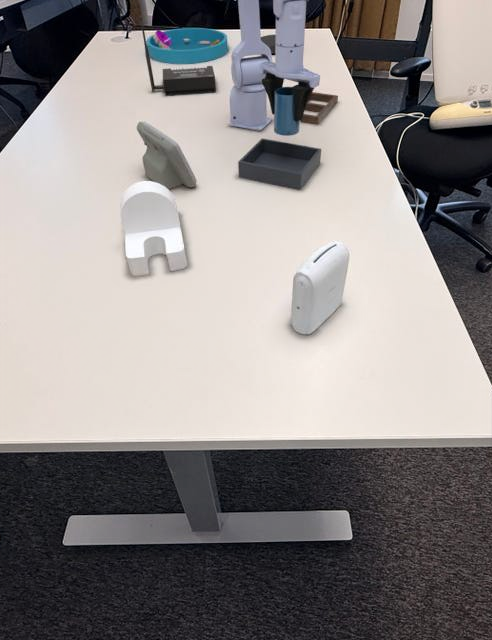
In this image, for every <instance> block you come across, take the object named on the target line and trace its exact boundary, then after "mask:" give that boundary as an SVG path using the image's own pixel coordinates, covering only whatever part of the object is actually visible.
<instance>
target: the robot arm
mask: <svg viewBox="0 0 492 640" xmlns="http://www.w3.org/2000/svg"><path fill="white" fill-rule="evenodd" d="M309 1H310V0H272V3H273V4H272V5H273V6H272V9H273V14H274V15H275V35H276V44H275V53H274V57H275V59H274V62H273V58H272V57H273V56H272V53H271V50H270V48H269V47H268V46H267V45H265V44H264V43H263V42H262V41H261V37H262V35H261V18H260V17H261V16H260V1H259V0H237V5H238V6H237V7H238V15H239V16H238V18H239V29H240V41H239V43H238V44H237V45H236V47H234V49H232V52H231V56H230V57H231V65H230V71H231V72H230V73H231V74H230V75H231V79H232V83H233V85H232V87H231V89H230V92H229V93H230V94H229V113H230V114H229V115H230V116H229V117H230V123H229V126H230V127H236V128H241V129H247V130H252V131H259V132H260V131H262V130H264V129H265V127H267V126H268V125H269V124H270V123H271V122H272V121H273V118H271V117H268V116H267V113H268V112H267V111H268V110H267V109H268V107H267V106H268V105H267V103H268V102H267V100H268V101H269V105H270V110H271V114H272V115H273V116H274V91H275V90H276V89H278V88H281V87H284V82H285V80H287V81H291V82H294V83H297V84H296V85H293V86H291V87H292V93H293V98H294V121H296V122H298V121H300V120H302V118H303V114H305V111H306V110H305V107H306V104H307V102H309V101H308V99H309V97H310V95H311V93H312V92H314V90H315V88H316V87H318V86H320V80H321V74H319V73H316V72H313V71H311V70H309V69H308V68H306V67H304V53H305V52H304V50H305V35H306V34H305V33H306V18H307V17H306V15H307V3H308V2H309Z"/></svg>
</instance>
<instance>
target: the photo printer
mask: <svg viewBox="0 0 492 640" xmlns="http://www.w3.org/2000/svg"><path fill="white" fill-rule="evenodd" d="M350 255H351V254H350V250H349V248H348V246H347V245H346V244H345V243H343V242H340V241H339V240H334V241H329V242H328V243H326V244H323V245H322V246H320V247H319V248H317V249H316V250H314V251H313V252H312V253H311V254H310V255H309V256H308V257H307V258H305V260H304V261H303V262H302V263H301V264H300V265H299V267H298V268H297V270H296V271H295V273H294V275H293V278H292V279H293V280H292V293H291V310H290V311H291V313H290V324H291V326H292V328H293V331H295V332H297V333H298V334H301V335H304V336H305V335H310V334H312V333H314V332H315V331H316V330H317V329H318V328H319V327H320V326H322V325H323V324H324V322H326V321H327V320H328V319H329V318H330V317H331V316H332V315H333V314H334V313H335V311H337V309H338V308H339V307H340V306H341V304H342V301H343V296H344V292H345V285H346V280H347V274H348V269H349V262H350Z"/></svg>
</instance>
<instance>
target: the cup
mask: <svg viewBox="0 0 492 640" xmlns="http://www.w3.org/2000/svg"><path fill="white" fill-rule="evenodd" d="M292 87H293V86H283V87H281V88H278V89H276V90H275V91H274V115H273V131H274V133H275V134H276V135H279V136H285V137H287V136H289V137H290V136H295V135H297V134H299V133H300V130H301V129H300V128H301V122H300V121H298V122H296V121H294V98H293V93H292Z"/></svg>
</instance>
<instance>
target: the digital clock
mask: <svg viewBox="0 0 492 640" xmlns="http://www.w3.org/2000/svg"><path fill="white" fill-rule="evenodd" d="M136 131H137V132H138V134H139V136H140V138H141V140H142V141H143V145H144V146H146V149H145V153H144V154H143V155H142V159H141V160H142V164H143V167H144V174H145V176H146V177H147V178H148V179H150V181H152V182H156V183H159V184H161V185H163V186H165V187H166V188H167V189H168V190H169V191H170V190H172V189H174V188H177V187H180V186H182V185H184V186H186V187H187V188H194V187H196V186H197V178H196V175H195V174H194V172H193V170H192V168H191V165H190V164H189V162H188V160H187V158H186V157H185V154H184V153H183V151H182V149H181V146H180V145H179V144H178V142H177V141H175V140H174V139H172V138H171V137H170V136H168V135H167V134H165V133H163V132H162V131H161V130H160V129H157V128H156V127H154V126H153V125H151V124H150V123H148V122H146V121H139V122H138V123H137V125H136Z"/></svg>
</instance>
